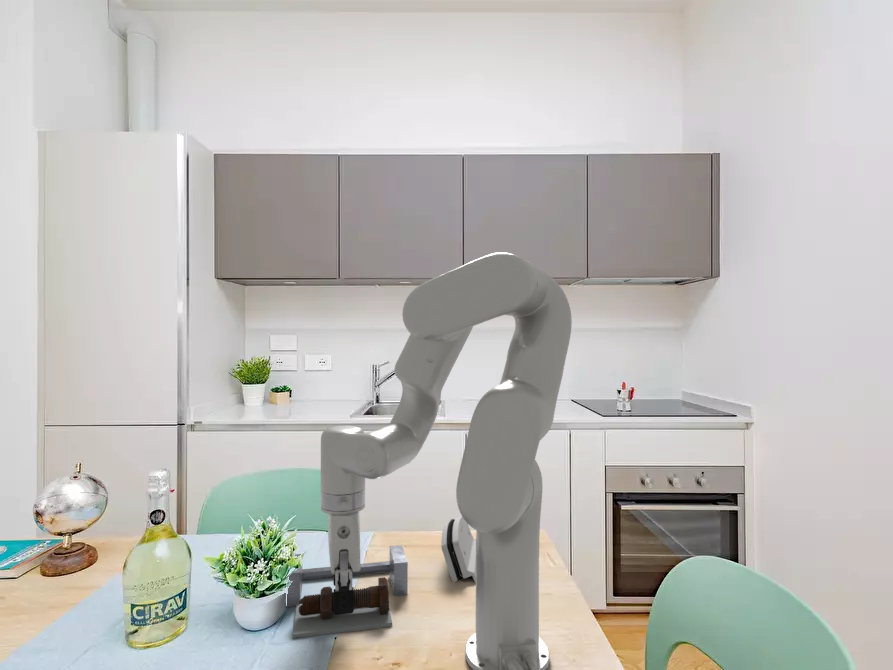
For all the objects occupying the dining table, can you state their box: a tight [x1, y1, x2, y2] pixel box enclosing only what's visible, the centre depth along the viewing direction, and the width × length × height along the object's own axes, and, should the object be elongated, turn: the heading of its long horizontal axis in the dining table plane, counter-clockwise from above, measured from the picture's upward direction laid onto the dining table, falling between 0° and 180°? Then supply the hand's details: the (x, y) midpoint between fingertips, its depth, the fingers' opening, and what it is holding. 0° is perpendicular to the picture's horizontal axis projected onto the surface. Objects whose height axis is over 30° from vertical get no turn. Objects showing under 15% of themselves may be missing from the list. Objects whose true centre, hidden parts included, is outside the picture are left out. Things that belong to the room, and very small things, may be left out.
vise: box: [286, 544, 409, 608], centre depth 100 cm, size 11×22×6 cm, turn 102°
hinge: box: [441, 516, 476, 583], centre depth 110 cm, size 17×5×10 cm, turn 173°
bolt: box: [299, 576, 390, 620], centre depth 89 cm, size 6×5×15 cm
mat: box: [292, 604, 393, 639], centre depth 89 cm, size 9×16×1 cm, turn 103°
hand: (343, 598), depth 89 cm, fingers open, 9 cm apart
